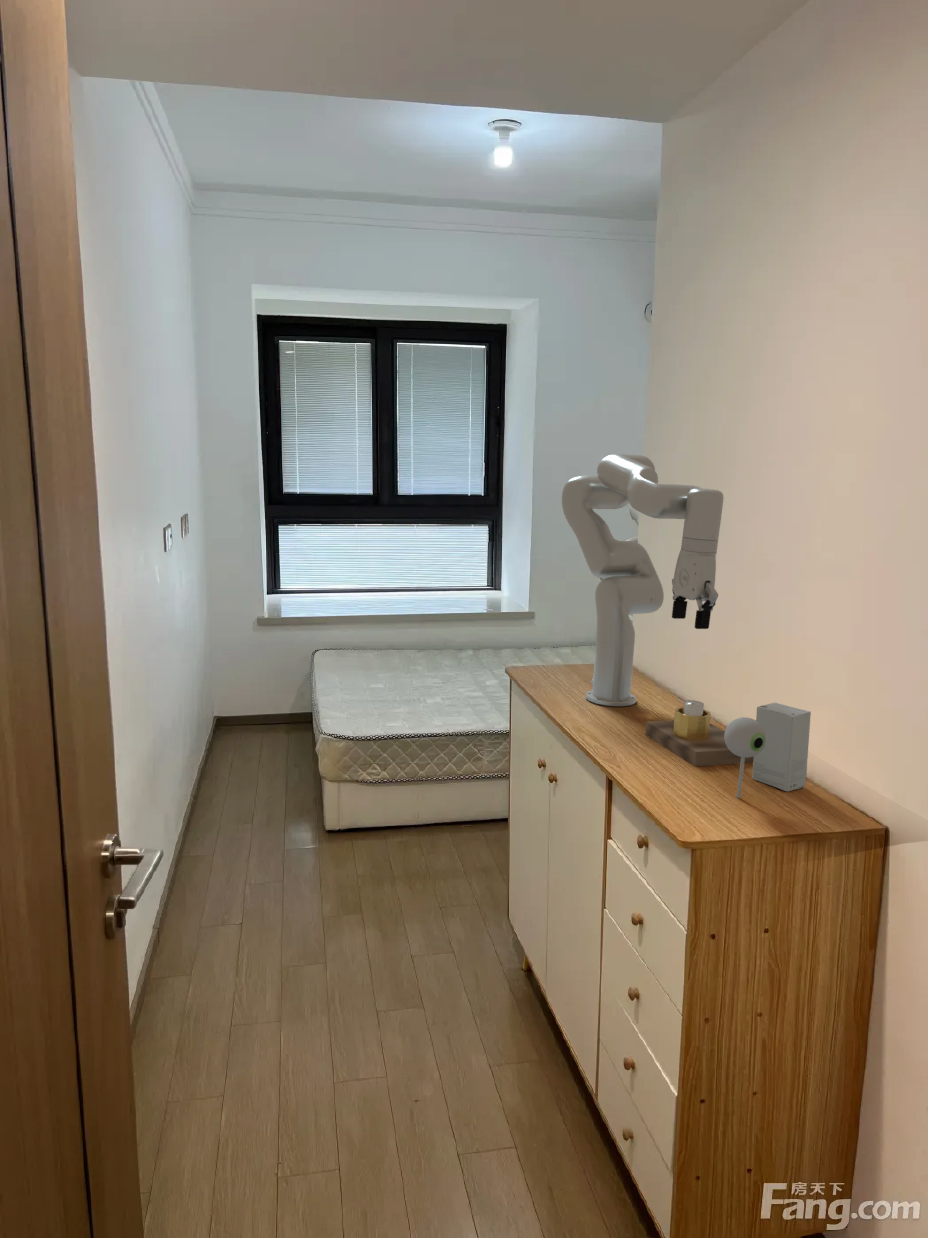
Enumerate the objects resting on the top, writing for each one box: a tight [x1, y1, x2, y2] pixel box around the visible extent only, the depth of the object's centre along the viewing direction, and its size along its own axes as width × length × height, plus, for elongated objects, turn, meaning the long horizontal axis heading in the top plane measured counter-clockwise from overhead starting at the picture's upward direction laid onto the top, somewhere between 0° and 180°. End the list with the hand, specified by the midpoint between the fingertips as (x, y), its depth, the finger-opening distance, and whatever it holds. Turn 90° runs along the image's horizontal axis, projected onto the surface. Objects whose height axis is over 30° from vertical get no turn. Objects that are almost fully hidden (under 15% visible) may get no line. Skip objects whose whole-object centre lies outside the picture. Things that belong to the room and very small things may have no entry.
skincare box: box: [751, 702, 812, 792], centre depth 159 cm, size 8×6×15 cm
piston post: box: [683, 699, 705, 716], centre depth 177 cm, size 4×4×7 cm
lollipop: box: [724, 717, 766, 799], centre depth 151 cm, size 7×7×15 cm
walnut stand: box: [644, 719, 754, 767], centre depth 179 cm, size 20×14×3 cm
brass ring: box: [673, 706, 712, 740], centre depth 177 cm, size 7×7×5 cm
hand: (689, 623), depth 185 cm, fingers open, 9 cm apart
